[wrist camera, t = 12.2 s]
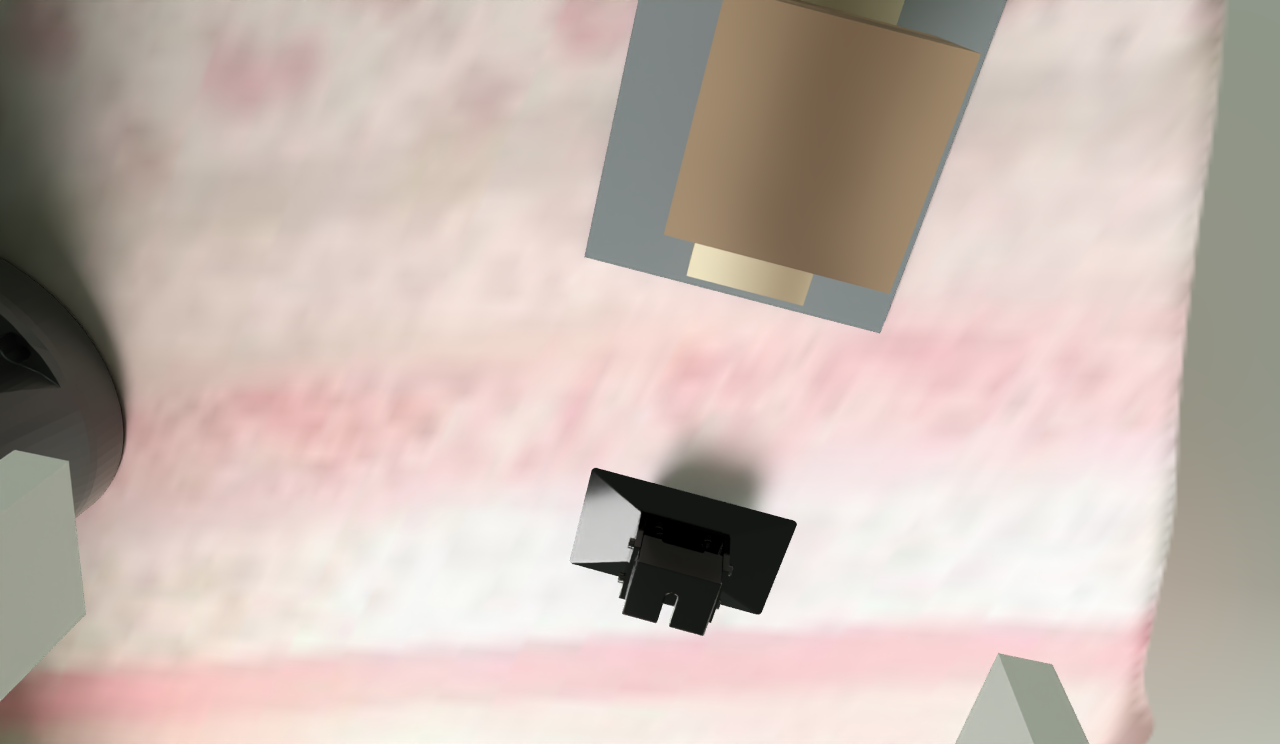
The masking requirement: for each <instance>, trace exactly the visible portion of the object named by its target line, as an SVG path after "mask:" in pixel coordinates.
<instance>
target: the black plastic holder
mask: <svg viewBox="0 0 1280 744" xmlns="http://www.w3.org/2000/svg"><path fill="white" fill-rule="evenodd" d="M796 526H797V523H796V522H795V521H793V520H789V519H786V518H782V517H778V516H774V515H771V514H767V513H763V512H759V511H756V510H752V509H748V508H744V507H741V506H737V505H733V504H729V503H726V502H722V501H718V500H714V499H711V498H707V497H703V496H699V495H696V494H692V493H688V492H684V491H681V490H677V489H673V488H669V487H666V486H662V485H658V484H654V483H651V482H647V481H643V480H640V479H636V478H632V477H628V476H625V475H621V474H617V473H613V472H610V471H606V470H602V469H598V468H594V469H592V471H591V476H590V480H589V484H588V488H587V492H586V496H585V500H584V504H583V509H582V513H581V517H580V521H579V525H578V529H577V533H576V537H575V542H574V546H573V550H572V554H571V558H570V562H571V563H572V564H575V565H579V566H582V567H586V568H590V569H593V570H597V571H601V572H604V573H608V574H612V575H615V576H619V578H618V582H619V583H622V586H621V590H620V595H619V598H621V599H625V602H624V607H623V611H622V614H624V615H628V616H631V617H635V618H639V619H642V620H646V621H650V622H653V623H657V621H658V617H659V614H660V611H661V608H662V605H663V604H667V605H670V606H674V609H673V612H672V615H671V618H670V623H669V626H670V627H672V628H675V629H679V630H683V631H686V632H690V633H694V634H697V635H701V636H703V635H704V633H705V631H706V628H707V625H708V622H709V623H711V621H712V619H713V616H714V613H715V610H716V609H719V607H720V604H721V605H724V606H728V607H732V608H735V609H739V610H742V611H746V612H750V613H753V614H761V612H762V610H763V608H764V605H765V603H766V600H767V598H768V595H769V593H770V590H771V588H772V585H773V583H774V580H775V578H776V575H777V573H778V570H779V568H780V565H781V563H782V560H783V558H784V555H785V553H786V550H787V548H788V545H789V543H790V540H791V538H792V536H793V533H794V531H795V528H796Z"/></svg>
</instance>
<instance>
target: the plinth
mask: <svg viewBox="0 0 1280 744" xmlns="http://www.w3.org/2000/svg"><path fill="white" fill-rule="evenodd" d="M800 1H804V2H808V3H812V4H816V5H820V6H824V7H827V8H831V9H835V10H839V11H843V12H847V13H851V14H854V15H858V16H862V17H866V18H870V19H874V20H878V21H881V22H885V23H889V24H893V25H897V22H898V19H899V16H900V13H901V10H902V7H903V4H904V1H905V0H800ZM687 276H689V277H693V278H697V279H701V280H705V281H709V282H713V283H716V284H720V285H724V286H728V287H732V288H736V289H740V290H743V291H747V292H751V293H755V294H759V295H763V296H767V297H771V298H774V299H778V300H782V301H786V302H790V303H794V304H798V305H802V306H803V304H804V301H805V298H806V295H807V292H808V289H809V286H810V283H811V280H812V277H813V274H812V273H808V272H804V271H800V270H796V269H792V268H789V267H785V266H781V265H777V264H773V263H770V262H766V261H762V260H758V259H754V258H750V257H747V256H743V255H739V254H735V253H731V252H728V251H724V250H720V249H716V248H712V247H708V246H705V245H701V244H697V243H694V244H693V248H692V253H691V257H690V262H689V267H688V271H687Z"/></svg>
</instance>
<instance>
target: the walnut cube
mask: <svg viewBox="0 0 1280 744" xmlns="http://www.w3.org/2000/svg"><path fill="white" fill-rule="evenodd" d="M980 55H981V53H978V52H975V51H973V50H970V49H968V48H965V47H963V46H960V45H958V44H955V43H952V42H950V41H947V40H945V39H942V38H940V37H937V36H935V35H932V34H928V33H924V32H920V31H916V30H912V29H908V28H905V27H901V26H897V25H893V24H889V23H885V22H881V21H878V20H874V19H870V18H866V17H862V16H858V15H854V14H851V13H847V12H843V11H839V10H835V9H831V8H827V7H824V6H820V5H816V4H812V3H808V2H804V1H800V0H723V2H722V6H721V10H720V14H719V18H718V22H717V26H716V30H715V34H714V38H713V42H712V46H711V50H710V53H709V57H708V61H707V65H706V69H705V73H704V77H703V81H702V85H701V89H700V93H699V97H698V101H697V105H696V109H695V113H694V117H693V121H692V125H691V129H690V133H689V137H688V140H687V144H686V148H685V152H684V156H683V160H682V164H681V168H680V172H679V176H678V180H677V184H676V188H675V192H674V196H673V200H672V204H671V208H670V212H669V216H668V220H667V223H666V227H665V231H664V235H666V236H670V237H674V238H678V239H682V240H686V241H689V242H693V243H697V244H701V245H705V246H708V247H712V248H716V249H720V250H724V251H728V252H731V253H735V254H739V255H743V256H747V257H750V258H754V259H758V260H762V261H766V262H770V263H773V264H777V265H781V266H785V267H789V268H792V269H796V270H800V271H804V272H808V273H812V274H815V275H819V276H823V277H827V278H831V279H834V280H838V281H842V282H846V283H850V284H854V285H857V286H861V287H865V288H869V289H873V290H876V291H880V292H884V293H888V294H890V291H891V289H892V286H893V283H894V281H895V278H896V276H897V273H898V270H899V268H900V265H901V262H902V260H903V257H904V255H905V252H906V249H907V247H908V244H909V242H910V239H911V236H912V234H913V231H914V228H915V226H916V223H917V221H918V218H919V215H920V213H921V210H922V207H923V205H924V202H925V200H926V197H927V194H928V192H929V189H930V186H931V184H932V181H933V179H934V176H935V173H936V171H937V168H938V166H939V163H940V160H941V158H942V155H943V152H944V150H945V147H946V145H947V142H948V139H949V137H950V134H951V131H952V129H953V126H954V124H955V121H956V118H957V116H958V113H959V110H960V108H961V105H962V103H963V100H964V97H965V95H966V92H967V90H968V87H969V84H970V82H971V79H972V76H973V74H974V71H975V69H976V66H977V63H978V61H979V58H980Z"/></svg>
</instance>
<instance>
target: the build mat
mask: <svg viewBox="0 0 1280 744" xmlns="http://www.w3.org/2000/svg"><path fill="white" fill-rule="evenodd" d="M1006 1H1007V0H905V1H904V4H903V7H902V10H901V13H900V16H899V19H898V22H897V26H901V27H905V28H908V29H912V30H916V31H920V32H924V33H928V34H932V35H935V36H937V37H940V38H942V39H945V40H947V41H950V42H952V43H955V44H958V45H960V46H963V47H965V48H968V49H970V50H973V51H975V52H978V53H981V55H980V58H979V61H978V63H977V66H976V69H975V71H974V74H973V76H972V79H971V82H970V84H969V87H968V90H967V92H966V95H965V97H964V100H963V103H962V105H961V108H960V110H959V113H958V116H957V118H956V121H955V124H954V126H953V129H952V131H951V134H950V137H949V139H948V142H947V145H946V147H945V150H944V152H943V155H942V158H941V160H940V163H939V166H938V168H937V171H936V173H935V176H934V179H933V181H932V184H931V186H930V189H929V192H928V194H927V197H926V200H925V202H924V205H923V207H922V210H921V213H920V215H919V218H918V221H917V223H916V226H915V228H914V231H913V234H912V236H911V239H910V242H909V244H908V247H907V249H906V252H905V255H904V257H903V260H902V262H901V265H900V268H899V270H898V273H897V276H896V278H895V281H894V283H893V286H892V289H891V291H890V294H888V293H884V292H880V291H876V290H873V289H869V288H865V287H861V286H857V285H854V284H850V283H846V282H842V281H838V280H834V279H831V278H827V277H823V276H819V275H815V274H813V277H812V280H811V283H810V286H809V289H808V292H807V295H806V298H805V301H804V304H803V306H802V305H798V304H794V303H790V302H786V301H782V300H778V299H774V298H771V297H767V296H763V295H759V294H755V293H751V292H747V291H743V290H740V289H736V288H732V287H728V286H724V285H720V284H716V283H713V282H709V281H705V280H701V279H697V278H693V277H689V276H687V271H688V267H689V262H690V257H691V253H692V248H693V244H694V243H693V242H689V241H686V240H682V239H678V238H674V237H670V236H666V235H664V231H665V227H666V223H667V220H668V216H669V212H670V208H671V204H672V200H673V196H674V192H675V188H676V184H677V180H678V176H679V172H680V168H681V164H682V160H683V156H684V152H685V148H686V144H687V140H688V137H689V133H690V129H691V125H692V121H693V117H694V113H695V109H696V105H697V101H698V97H699V93H700V89H701V85H702V81H703V77H704V73H705V69H706V65H707V61H708V57H709V53H710V50H711V46H712V42H713V38H714V34H715V30H716V26H717V22H718V18H719V14H720V10H721V6H722V2H723V0H638V5H637V10H636V15H635V19H634V24H633V29H632V34H631V38H630V43H629V48H628V53H627V57H626V62H625V67H624V72H623V76H622V81H621V86H620V91H619V95H618V100H617V105H616V110H615V114H614V119H613V124H612V129H611V133H610V138H609V143H608V148H607V152H606V157H605V162H604V167H603V171H602V176H601V181H600V186H599V190H598V195H597V200H596V205H595V209H594V214H593V219H592V224H591V229H590V233H589V238H588V243H587V248H586V252H585V257H587V258H591V259H595V260H598V261H602V262H606V263H610V264H614V265H618V266H622V267H626V268H629V269H633V270H637V271H641V272H645V273H649V274H653V275H656V276H660V277H664V278H668V279H672V280H676V281H680V282H684V283H687V284H691V285H695V286H699V287H703V288H707V289H711V290H715V291H718V292H722V293H726V294H730V295H734V296H738V297H742V298H745V299H749V300H753V301H757V302H761V303H765V304H769V305H773V306H776V307H780V308H784V309H788V310H792V311H796V312H800V313H803V314H807V315H811V316H815V317H819V318H823V319H827V320H831V321H834V322H838V323H842V324H846V325H850V326H854V327H858V328H862V329H865V330H869V331H873V332H877V333H880V332H881V329H882V327H883V324H884V321H885V319H886V316H887V314H888V311H889V308H890V306H891V303H892V300H893V298H894V295H895V293H896V290H897V287H898V285H899V282H900V279H901V277H902V274H903V271H904V269H905V266H906V264H907V261H908V258H909V256H910V253H911V250H912V248H913V245H914V243H915V240H916V237H917V235H918V232H919V229H920V227H921V224H922V222H923V219H924V216H925V214H926V211H927V208H928V206H929V203H930V200H931V198H932V195H933V193H934V190H935V187H936V185H937V182H938V179H939V177H940V174H941V172H942V169H943V166H944V164H945V161H946V158H947V156H948V153H949V151H950V148H951V145H952V143H953V140H954V137H955V135H956V132H957V129H958V127H959V124H960V122H961V119H962V116H963V114H964V111H965V108H966V106H967V103H968V101H969V98H970V95H971V93H972V90H973V87H974V85H975V82H976V80H977V77H978V74H979V72H980V69H981V66H982V64H983V61H984V58H985V56H986V53H987V51H988V48H989V45H990V43H991V40H992V37H993V35H994V32H995V30H996V27H997V24H998V22H999V19H1000V16H1001V14H1002V11H1003V9H1004V6H1005V3H1006Z"/></svg>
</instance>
